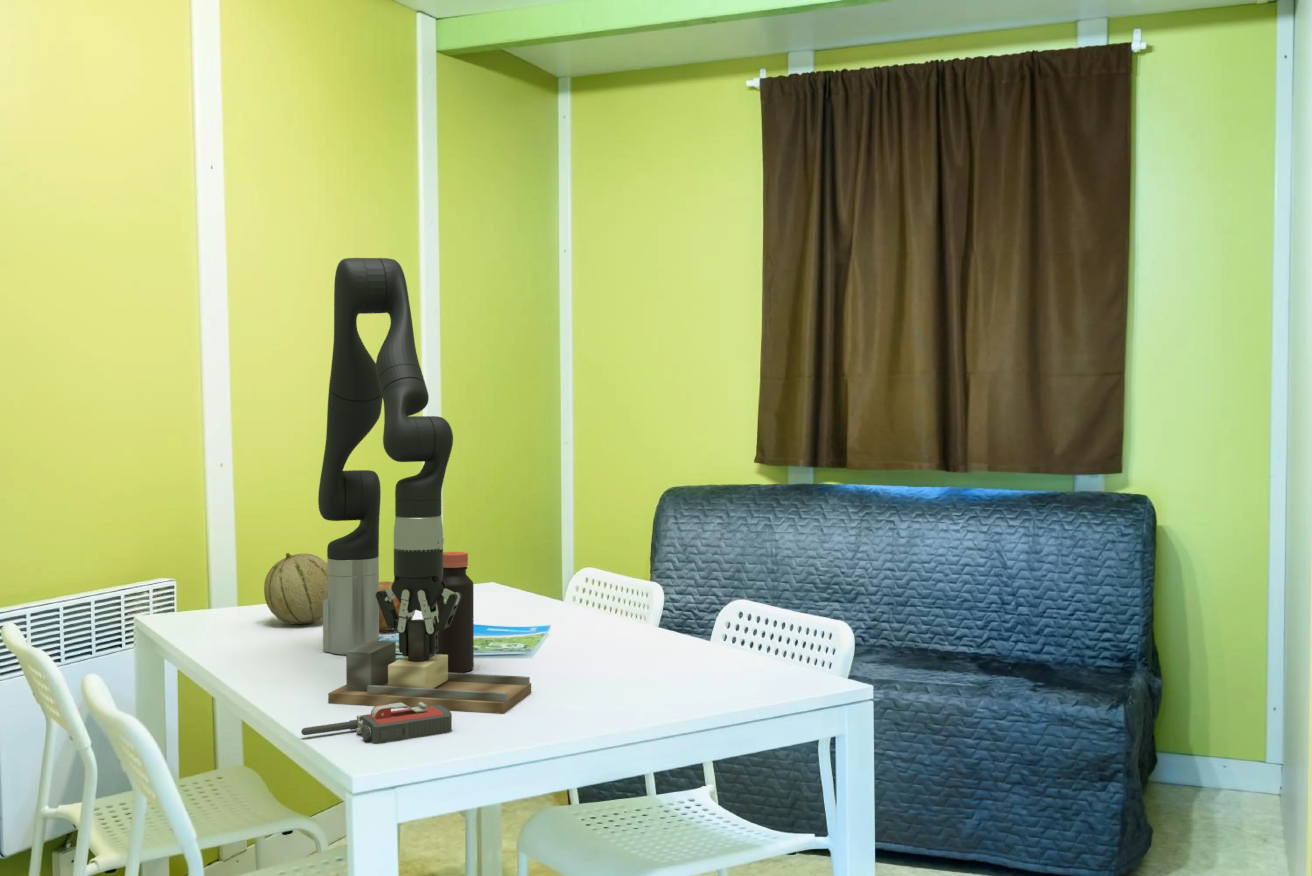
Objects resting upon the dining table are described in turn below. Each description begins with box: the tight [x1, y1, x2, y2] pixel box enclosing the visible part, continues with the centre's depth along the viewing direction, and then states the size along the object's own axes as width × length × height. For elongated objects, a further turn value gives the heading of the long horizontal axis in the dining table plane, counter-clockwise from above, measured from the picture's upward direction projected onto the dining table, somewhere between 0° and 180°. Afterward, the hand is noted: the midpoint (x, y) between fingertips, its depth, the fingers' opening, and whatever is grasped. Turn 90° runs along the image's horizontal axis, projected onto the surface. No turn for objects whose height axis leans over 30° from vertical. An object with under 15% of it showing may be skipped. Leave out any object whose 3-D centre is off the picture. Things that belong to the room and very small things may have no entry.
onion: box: [379, 580, 401, 632], centre depth 236 cm, size 10×10×10 cm
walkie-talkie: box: [301, 702, 453, 745], centre depth 162 cm, size 9×4×20 cm
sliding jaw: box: [388, 618, 448, 689], centre depth 182 cm, size 6×9×10 cm, turn 168°
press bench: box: [327, 640, 532, 715], centre depth 182 cm, size 28×13×8 cm, turn 78°
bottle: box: [435, 551, 475, 673], centre depth 201 cm, size 7×7×20 cm
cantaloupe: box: [263, 552, 328, 625], centre depth 243 cm, size 15×15×15 cm
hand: (418, 655), depth 182 cm, fingers closed on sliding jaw, 3 cm apart
